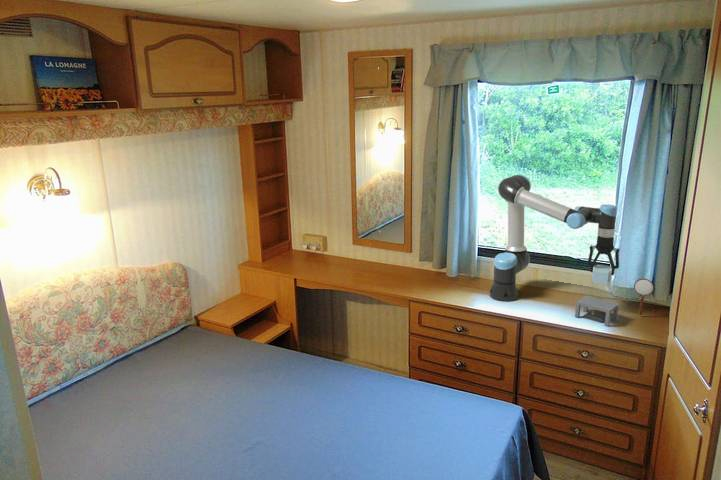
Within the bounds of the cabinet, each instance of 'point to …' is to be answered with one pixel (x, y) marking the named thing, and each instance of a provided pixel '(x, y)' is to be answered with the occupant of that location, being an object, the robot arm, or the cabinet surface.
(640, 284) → the magnifying glass
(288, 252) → the cabinet surface
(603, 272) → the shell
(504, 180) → the robot arm
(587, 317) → the grey footstool
